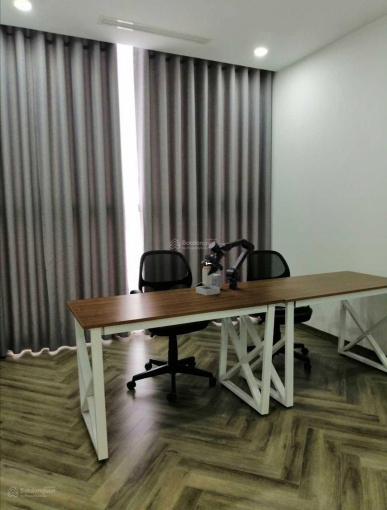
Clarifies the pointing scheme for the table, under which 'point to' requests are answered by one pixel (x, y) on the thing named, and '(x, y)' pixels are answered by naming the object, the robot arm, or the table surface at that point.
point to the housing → (207, 290)
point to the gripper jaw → (205, 277)
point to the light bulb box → (216, 280)
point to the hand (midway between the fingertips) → (205, 274)
